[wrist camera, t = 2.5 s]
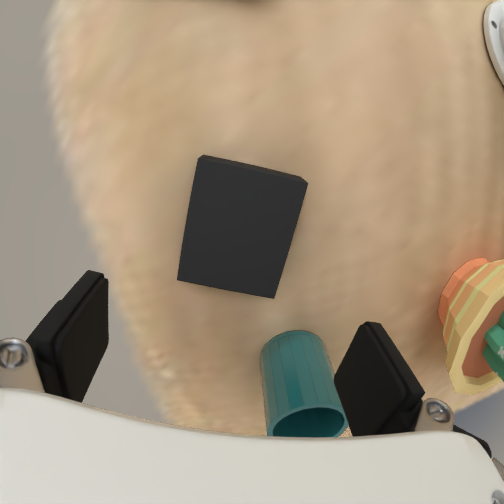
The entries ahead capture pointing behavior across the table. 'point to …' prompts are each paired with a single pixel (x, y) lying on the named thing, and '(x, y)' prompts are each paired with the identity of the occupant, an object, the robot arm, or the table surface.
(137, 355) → the table surface
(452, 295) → the potted cactus
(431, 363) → the table surface
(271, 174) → the black box
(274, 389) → the cup
